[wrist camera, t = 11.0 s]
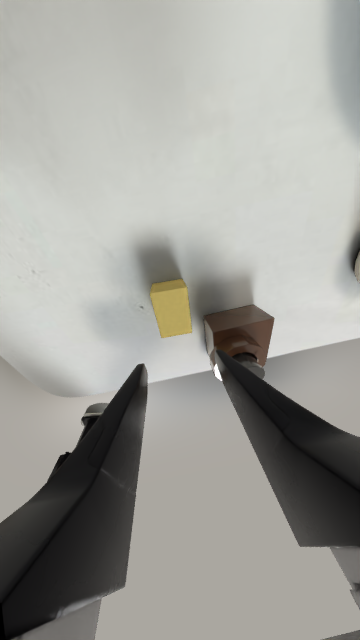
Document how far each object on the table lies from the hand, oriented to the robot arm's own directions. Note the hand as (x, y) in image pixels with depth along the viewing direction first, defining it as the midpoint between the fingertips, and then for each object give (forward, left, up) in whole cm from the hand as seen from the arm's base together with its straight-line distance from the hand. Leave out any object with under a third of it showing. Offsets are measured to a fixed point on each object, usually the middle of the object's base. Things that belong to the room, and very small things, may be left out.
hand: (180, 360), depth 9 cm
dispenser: (-5, -10, -11) cm, 16 cm away
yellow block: (0, 0, -11) cm, 11 cm away
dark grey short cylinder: (-6, -9, -5) cm, 12 cm away
